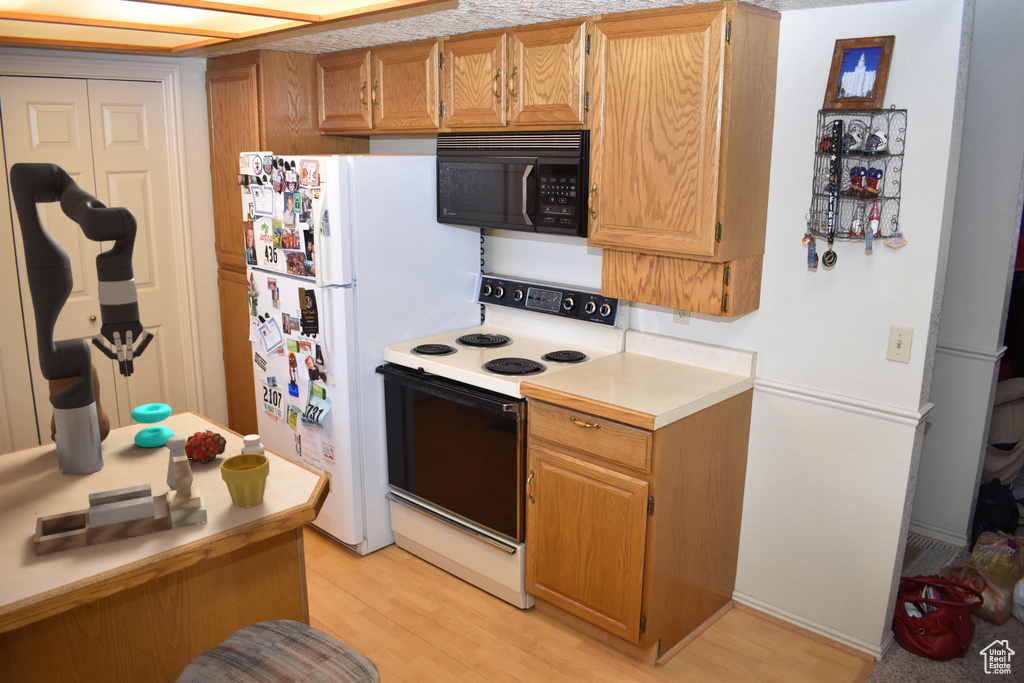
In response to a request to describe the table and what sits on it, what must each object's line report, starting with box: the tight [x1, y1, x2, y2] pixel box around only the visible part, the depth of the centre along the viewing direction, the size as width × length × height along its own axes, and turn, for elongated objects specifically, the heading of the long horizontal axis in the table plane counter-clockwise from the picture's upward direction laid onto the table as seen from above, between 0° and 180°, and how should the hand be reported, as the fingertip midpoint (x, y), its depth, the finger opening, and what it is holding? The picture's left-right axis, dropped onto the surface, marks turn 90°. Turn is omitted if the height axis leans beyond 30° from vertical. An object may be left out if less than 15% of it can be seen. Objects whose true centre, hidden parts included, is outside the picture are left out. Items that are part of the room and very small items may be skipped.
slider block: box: [167, 455, 201, 511], centre depth 170 cm, size 6×6×10 cm
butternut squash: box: [47, 362, 111, 444], centre depth 208 cm, size 14×13×25 cm
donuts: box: [130, 403, 175, 448], centre depth 214 cm, size 10×10×10 cm
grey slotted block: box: [88, 483, 155, 529], centre depth 166 cm, size 12×10×4 cm
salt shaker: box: [165, 435, 194, 491], centre depth 184 cm, size 6×6×13 cm
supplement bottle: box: [240, 434, 266, 456], centre depth 194 cm, size 5×5×10 cm
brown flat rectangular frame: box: [33, 488, 208, 557], centre depth 167 cm, size 32×12×3 cm, turn 118°
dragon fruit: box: [184, 429, 228, 464], centre depth 203 cm, size 8×8×12 cm
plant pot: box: [220, 453, 270, 508], centre depth 179 cm, size 10×10×10 cm
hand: (127, 375), depth 176 cm, fingers closed
